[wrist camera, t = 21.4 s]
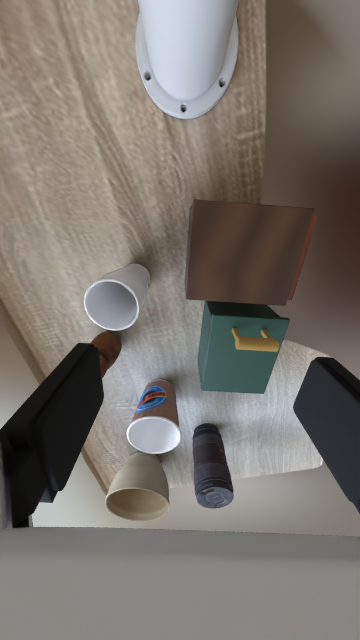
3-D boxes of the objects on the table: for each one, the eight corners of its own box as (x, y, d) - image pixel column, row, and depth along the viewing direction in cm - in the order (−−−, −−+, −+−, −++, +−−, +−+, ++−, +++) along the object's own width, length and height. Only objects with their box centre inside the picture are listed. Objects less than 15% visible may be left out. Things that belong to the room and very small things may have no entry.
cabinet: (276, 214, 33) (314, 208, 24) (259, 286, 38) (285, 305, 29) (190, 207, 33) (194, 199, 23) (184, 281, 38) (185, 299, 28)
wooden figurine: (113, 358, 45) (84, 414, 31) (90, 344, 44) (49, 397, 30) (130, 337, 43) (106, 388, 29) (106, 322, 41) (69, 368, 28)
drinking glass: (160, 269, 37) (149, 294, 23) (146, 301, 40) (128, 339, 26) (126, 252, 36) (92, 267, 22) (113, 285, 38) (75, 317, 25)
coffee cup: (171, 367, 46) (168, 411, 35) (187, 399, 50) (189, 446, 39) (131, 380, 48) (116, 425, 37) (149, 410, 52) (141, 458, 41)
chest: (205, 298, 39) (211, 315, 32) (264, 302, 40) (284, 320, 32) (197, 360, 45) (200, 387, 38) (248, 363, 46) (262, 390, 38)
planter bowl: (112, 443, 57) (98, 489, 47) (169, 442, 57) (167, 487, 47) (121, 477, 64) (111, 522, 54) (172, 476, 64) (171, 521, 54)
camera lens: (227, 432, 55) (242, 500, 42) (204, 445, 57) (211, 513, 44) (208, 416, 53) (218, 483, 39) (185, 431, 55) (187, 498, 41)
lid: (212, 312, 31) (218, 330, 26) (287, 317, 31) (307, 336, 26) (200, 387, 38) (203, 412, 33) (262, 390, 38) (274, 416, 33)
